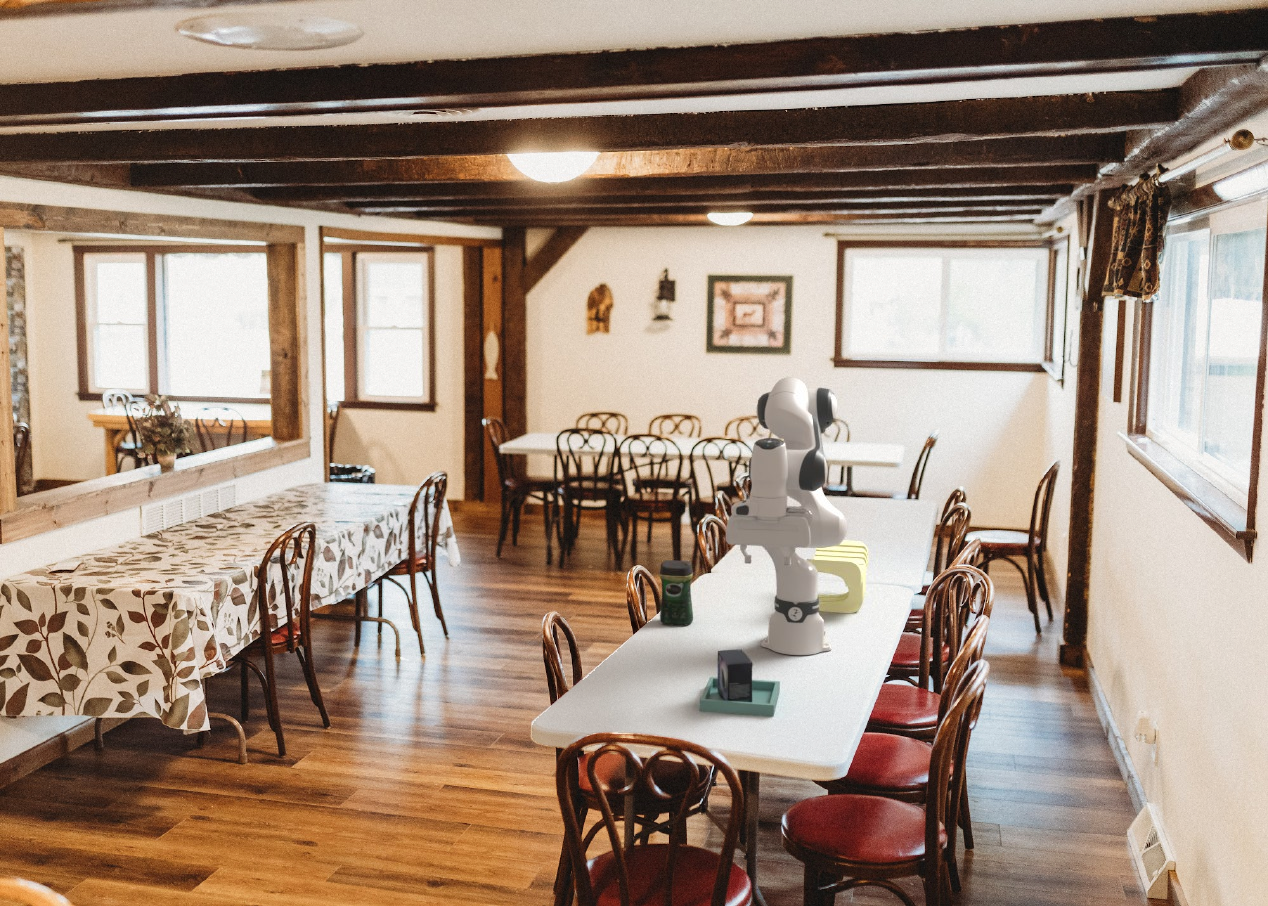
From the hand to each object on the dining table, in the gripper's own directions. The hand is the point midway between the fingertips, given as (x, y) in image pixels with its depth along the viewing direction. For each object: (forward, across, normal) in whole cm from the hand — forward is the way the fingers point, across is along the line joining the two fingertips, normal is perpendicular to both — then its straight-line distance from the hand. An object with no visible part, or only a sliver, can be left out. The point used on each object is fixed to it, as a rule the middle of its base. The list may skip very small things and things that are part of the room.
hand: (767, 563), depth 280 cm
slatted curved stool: (+31, -15, -81) cm, 88 cm away
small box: (+31, +6, +10) cm, 33 cm away
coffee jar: (+31, +31, -53) cm, 69 cm away
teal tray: (+31, +5, +10) cm, 33 cm away
